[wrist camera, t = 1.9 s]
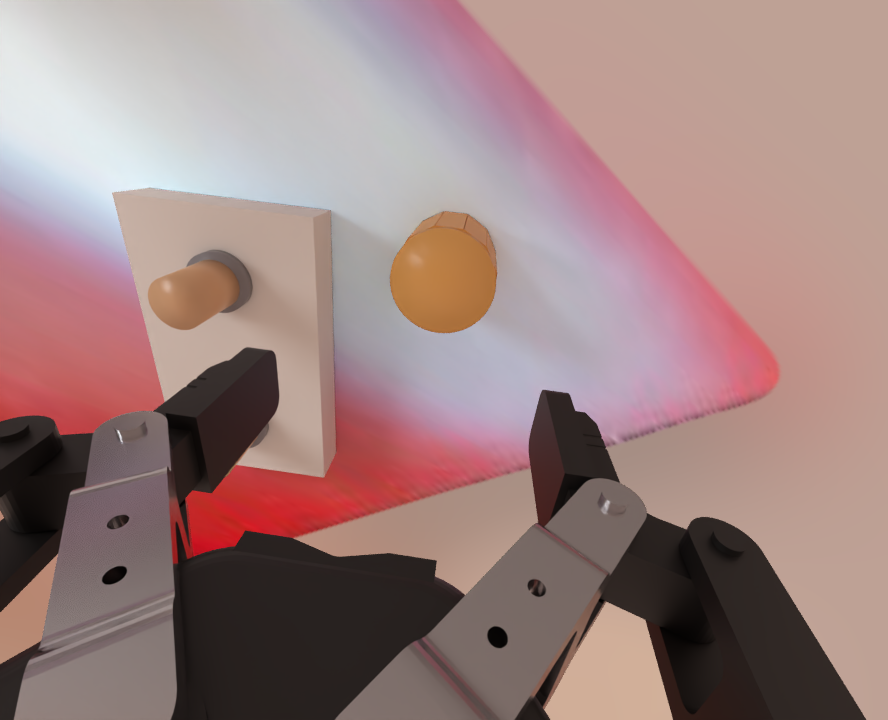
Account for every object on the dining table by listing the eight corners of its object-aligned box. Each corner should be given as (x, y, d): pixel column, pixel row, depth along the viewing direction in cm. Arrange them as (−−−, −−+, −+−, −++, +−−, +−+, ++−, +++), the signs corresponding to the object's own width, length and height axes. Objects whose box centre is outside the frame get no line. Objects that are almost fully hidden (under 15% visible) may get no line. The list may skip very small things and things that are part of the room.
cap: (411, 207, 26) (392, 222, 21) (500, 218, 26) (504, 237, 20) (406, 292, 29) (388, 326, 23) (487, 303, 28) (487, 339, 23)
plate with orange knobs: (149, 187, 27) (38, 201, 20) (330, 210, 27) (278, 232, 20) (201, 433, 36) (137, 498, 30) (336, 452, 36) (301, 522, 29)
